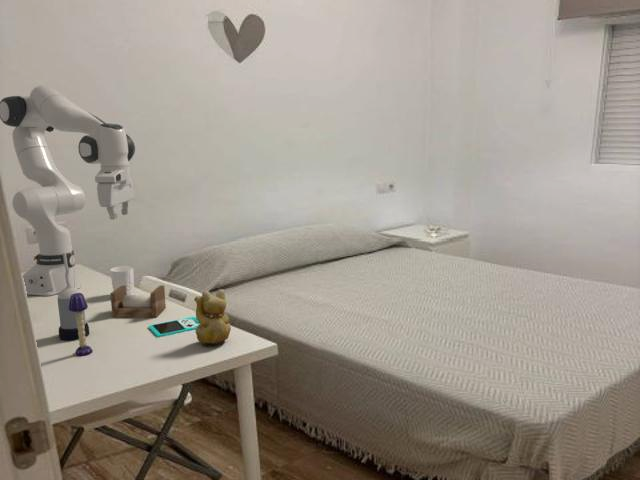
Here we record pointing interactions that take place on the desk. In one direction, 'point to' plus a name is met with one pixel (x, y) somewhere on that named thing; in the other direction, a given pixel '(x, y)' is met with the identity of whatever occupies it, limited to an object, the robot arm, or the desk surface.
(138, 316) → the holder
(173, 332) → the handheld game console
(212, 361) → the desk surface
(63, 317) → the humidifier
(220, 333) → the decorative figurine
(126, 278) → the white cup
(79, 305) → the toy lamp
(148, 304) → the roll
